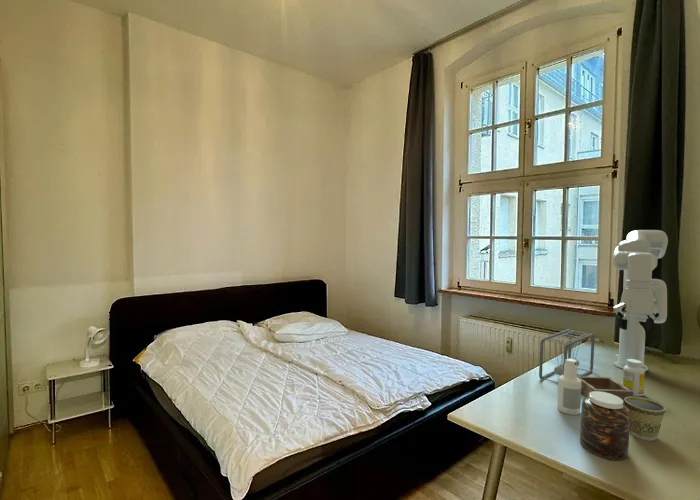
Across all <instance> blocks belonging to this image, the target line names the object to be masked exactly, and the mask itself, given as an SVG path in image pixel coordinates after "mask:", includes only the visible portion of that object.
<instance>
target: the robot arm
mask: <svg viewBox="0 0 700 500" xmlns="http://www.w3.org/2000/svg"><path fill="white" fill-rule="evenodd" d="M625 237H626V238H625V240H621V241H620V242H619V244H618V245H617V246H616V247H615V248H614V249H613V250H614V251H613V254H612V264H613V267H614V268H615V269H617V270H619V271H623V283H622V284H623V285H622V286H623V291H622V293H621V298H620V301H619V304H617V305H615V306H613V312H614V313H615V315H616V316H617V317H618V318H619V337H618V338H619V339H618V342H619V343H618V354H617V353H616V354H615V357H616V358H617V360H614V362H613V364H614V366H615V367H616V368H620V369H622V370H623V369H624V366H626V365H627V359H635V360H639V361H641V362H642V366H641V368H643V369H644V371H645V372H647V371H648V370H649V368H648V366H647V365H645V348H646V347H645V345H646V330H648V331H654V327H655V324H663V323H665V322H666V321H667V317H668V288H667V287H668V286H667V284H666V282H665V281H664V280H663V279H658V278H652V277H653V270H656V269H655V268H657V266H658V259H662V258H663V257H664V256H665V255H666V251H667V247H668V244H669V243H668V242H669V238H668V235H667V234H666V232H665V231H663V230H659V229H638V230H637V229H636V230H635V229H634V230H632V231H630V232H628V234H627V235H626V236H625ZM640 322H643V323H645V328H644V326H643V325H641V323H640ZM645 329H646V330H645Z"/></svg>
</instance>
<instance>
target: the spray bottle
mask: <svg viewBox="0 0 700 500" xmlns="http://www.w3.org/2000/svg"><path fill="white" fill-rule="evenodd" d="M576 364H577V361H576V360H574V359H572V358H571V359H570V358H569V359H568V358H567V359H565V365H564V375H563V374H562V375H559V377H558V383H559V384H558V387H557V389H558V390H557V409H558V411H559V412H561V413H563V414H566V415H570V416H577V415H579V414H580V413H581V404H582V402H581V399H582V394H581V380H580V379H578V378H577V376H578V369H577V368H578V367H577V365H576Z"/></svg>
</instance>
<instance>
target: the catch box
mask: <svg viewBox="0 0 700 500" xmlns="http://www.w3.org/2000/svg"><path fill="white" fill-rule="evenodd" d="M577 378H578V379H580V380H581V396H583V397H584V398H586V397H589V393H590V392H593V391H600V392H606V393H610V394H613V395H615V396H618V397H619V398H621V399H622V400H623V405H624V406H625V404H624V398H626V397H631V396H633V391H631V390H630V389H628V388H626V387H625V386H623V383H620V382H618V381H616V380H615V379H613V378H612V377H609V376H607V377H606V376H580V375H577ZM633 397H634V396H633Z"/></svg>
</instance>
